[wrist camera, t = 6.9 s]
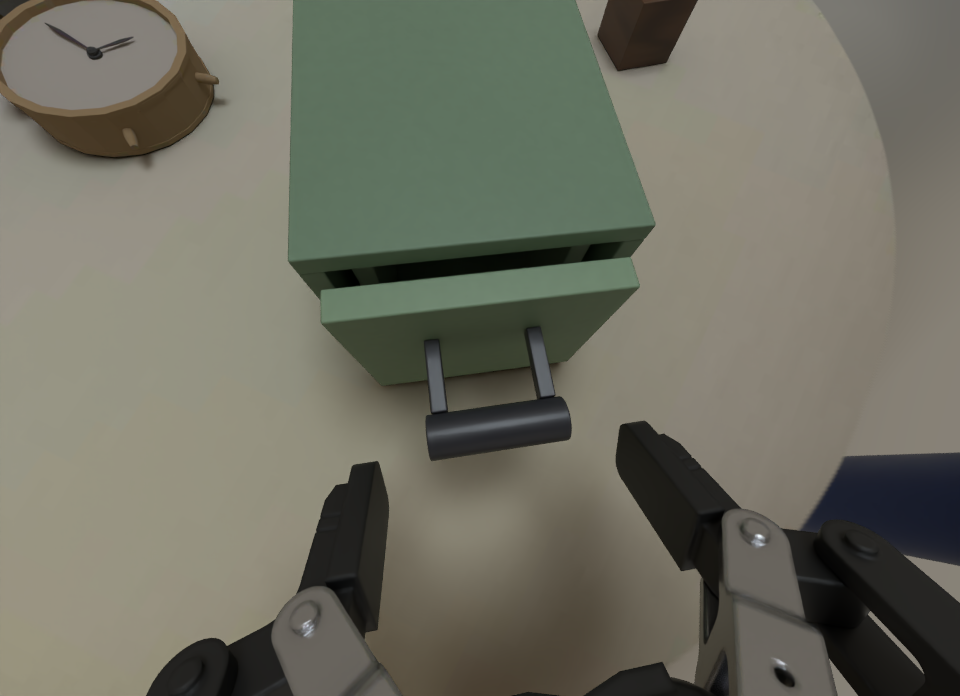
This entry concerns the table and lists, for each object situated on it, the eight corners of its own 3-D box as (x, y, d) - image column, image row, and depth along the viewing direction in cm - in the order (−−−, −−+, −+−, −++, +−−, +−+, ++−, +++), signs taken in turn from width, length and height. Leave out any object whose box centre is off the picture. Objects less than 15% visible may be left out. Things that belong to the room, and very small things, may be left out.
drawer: (586, 440, 19) (684, 418, 11) (386, 471, 18) (321, 474, 10) (523, 173, 24) (555, 20, 16) (368, 185, 23) (316, 30, 15)
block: (644, 27, 31) (672, -42, 27) (666, 62, 30) (700, -5, 26) (597, 34, 31) (618, -35, 26) (617, 70, 29) (644, 3, 25)
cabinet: (566, 337, 22) (656, 224, 12) (372, 362, 21) (286, 261, 11) (522, 151, 26) (559, -45, 16) (360, 164, 25) (293, -39, 15)
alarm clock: (90, 150, 21) (-149, -2, 20) (148, 202, 25) (-43, 80, 25) (228, 43, 24) (28, -91, 23) (257, 106, 29) (91, -4, 28)
